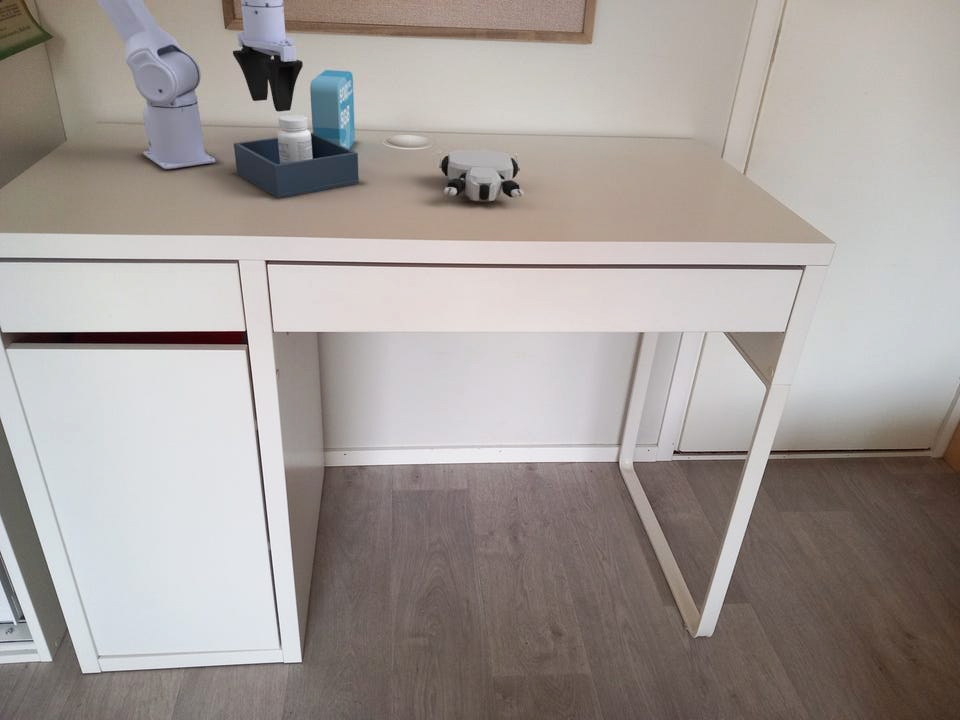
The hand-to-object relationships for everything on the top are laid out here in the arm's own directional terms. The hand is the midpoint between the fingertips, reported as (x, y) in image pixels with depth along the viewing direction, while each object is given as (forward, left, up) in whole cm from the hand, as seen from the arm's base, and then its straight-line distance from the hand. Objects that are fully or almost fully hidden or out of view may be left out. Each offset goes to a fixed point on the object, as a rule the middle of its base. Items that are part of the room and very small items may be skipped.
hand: (271, 105), depth 110 cm
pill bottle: (+7, 0, -9) cm, 11 cm away
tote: (+7, 0, -9) cm, 12 cm away
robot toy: (+26, +20, -10) cm, 34 cm away
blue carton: (-4, +13, -10) cm, 17 cm away
